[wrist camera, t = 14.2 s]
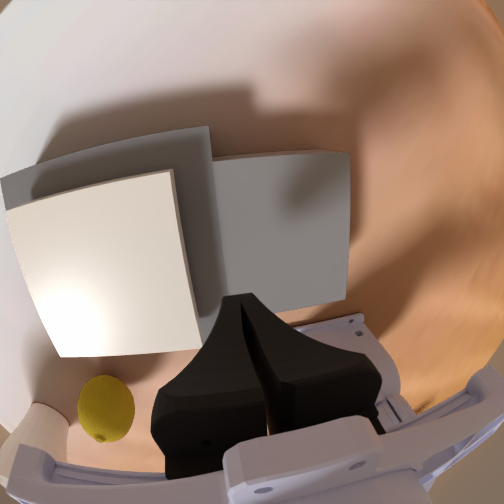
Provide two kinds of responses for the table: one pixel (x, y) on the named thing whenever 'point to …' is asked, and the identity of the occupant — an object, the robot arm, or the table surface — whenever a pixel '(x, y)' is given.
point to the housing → (230, 213)
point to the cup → (36, 437)
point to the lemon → (106, 408)
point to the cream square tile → (109, 267)
